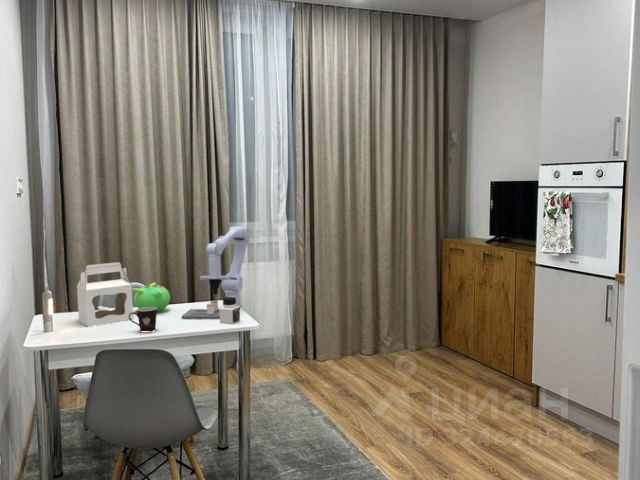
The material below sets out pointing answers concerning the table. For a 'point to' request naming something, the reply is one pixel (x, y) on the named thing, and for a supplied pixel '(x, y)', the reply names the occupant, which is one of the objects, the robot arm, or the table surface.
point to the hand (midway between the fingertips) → (215, 294)
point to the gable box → (104, 288)
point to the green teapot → (151, 296)
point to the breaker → (215, 304)
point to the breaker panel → (200, 314)
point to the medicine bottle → (229, 311)
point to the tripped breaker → (210, 308)
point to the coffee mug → (146, 318)
